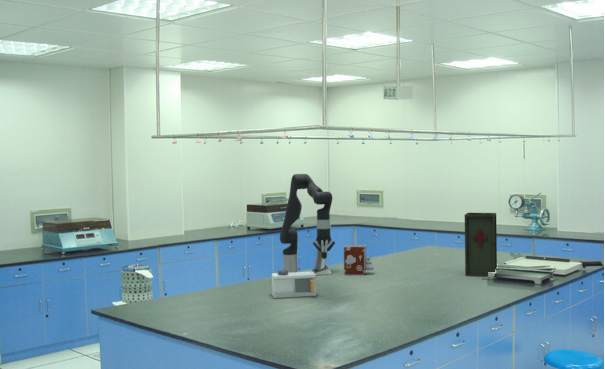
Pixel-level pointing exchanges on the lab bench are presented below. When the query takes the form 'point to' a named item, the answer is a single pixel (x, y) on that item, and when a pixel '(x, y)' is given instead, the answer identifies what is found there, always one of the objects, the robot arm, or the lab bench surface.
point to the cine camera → (356, 260)
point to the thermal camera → (321, 264)
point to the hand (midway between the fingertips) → (324, 258)
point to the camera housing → (290, 284)
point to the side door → (304, 285)
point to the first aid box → (480, 244)
